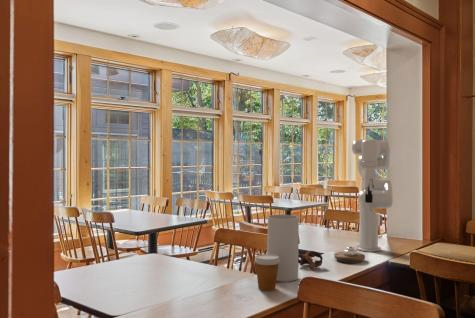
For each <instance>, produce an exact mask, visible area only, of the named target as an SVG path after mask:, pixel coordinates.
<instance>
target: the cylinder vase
mask: <svg viewBox="0 0 475 318" xmlns="http://www.w3.org/2000/svg"><path fill="white" fill-rule="evenodd" d="M299 220H300V218H299V216H298V215H292V214H271V215H268V216H267V241H266V242H267V247H266V248H267V253H266V254H272V255H277V256H278V257H279V260H280V262H279V264H278V272H277V279H276V283H277V282H278V283H290V281H291V282H294V280H295V281H296V280H298V279H299V263H298V254H299V241H300V240H299V239H300V236H299V234H300V233H299V232H300V231H299V229H300V226H299V225H300V223H299Z"/></svg>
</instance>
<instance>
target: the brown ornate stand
mask: <svg viewBox="0 0 475 318" xmlns="http://www.w3.org/2000/svg"><path fill="white" fill-rule="evenodd" d="M314 255H315V257H316V258H318V260H317V259H316V260H314V261H313V258H311V257H313V256H314ZM299 258H300V259H299ZM323 258H324V257H323V256H322V254H321V253H319V252H317V251H314V250H308V251H307V252H306V253H305V254H302V253H298V265H300V266H301V267H302V266H304V265H309V266H310V267H309V268H310V269H309V270H312V271H314V269H315V268H318V267H321V266H322V265H323V260H324V259H323Z"/></svg>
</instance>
